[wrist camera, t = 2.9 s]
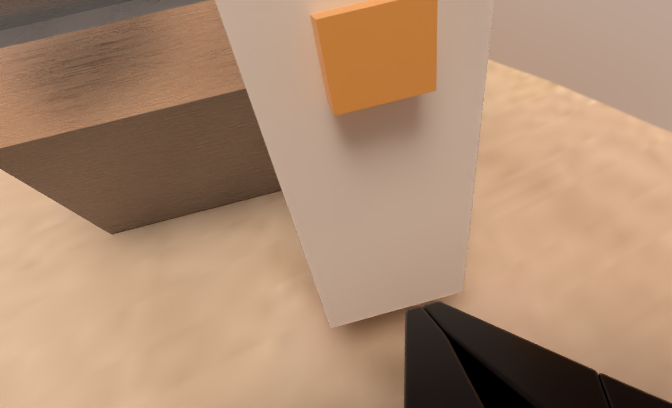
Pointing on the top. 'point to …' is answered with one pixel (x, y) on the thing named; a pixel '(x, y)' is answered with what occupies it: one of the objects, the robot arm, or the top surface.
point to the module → (370, 137)
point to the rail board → (127, 109)
